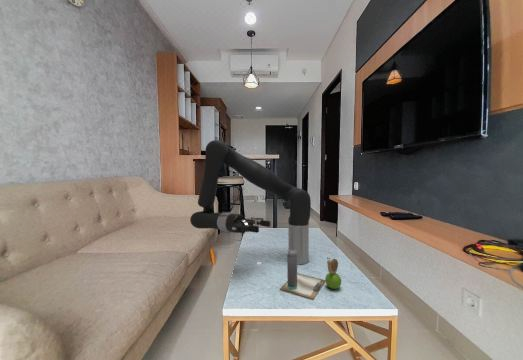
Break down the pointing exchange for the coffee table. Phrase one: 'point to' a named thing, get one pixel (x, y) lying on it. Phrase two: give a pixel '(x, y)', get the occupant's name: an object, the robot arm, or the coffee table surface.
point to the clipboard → (305, 286)
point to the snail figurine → (332, 274)
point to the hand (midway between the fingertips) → (264, 226)
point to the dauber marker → (292, 269)
